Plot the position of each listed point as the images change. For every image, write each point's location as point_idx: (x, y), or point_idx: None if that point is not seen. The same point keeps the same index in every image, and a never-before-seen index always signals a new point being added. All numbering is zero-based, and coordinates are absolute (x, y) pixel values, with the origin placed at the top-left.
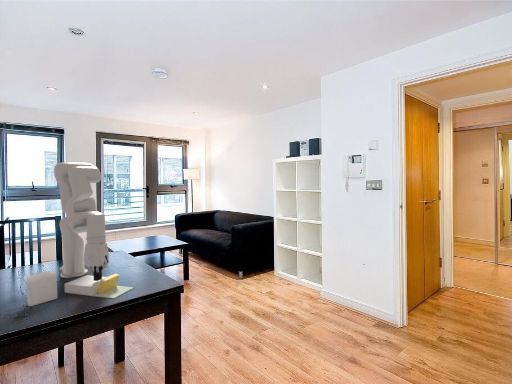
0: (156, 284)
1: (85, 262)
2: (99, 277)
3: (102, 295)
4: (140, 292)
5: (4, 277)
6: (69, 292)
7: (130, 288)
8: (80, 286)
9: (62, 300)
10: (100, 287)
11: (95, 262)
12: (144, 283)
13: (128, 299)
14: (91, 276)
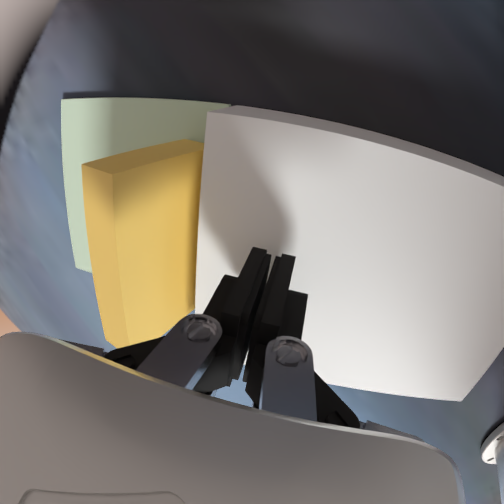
0: (38, 306)
1: (428, 495)
2: (220, 283)
3: (154, 112)
4: (20, 210)
5: None
6: (499, 175)
7: (78, 253)
8: (401, 149)
9: (451, 16)
10: (163, 151)
11: (61, 427)
12: (86, 326)
13: (11, 116)
14: (417, 385)
